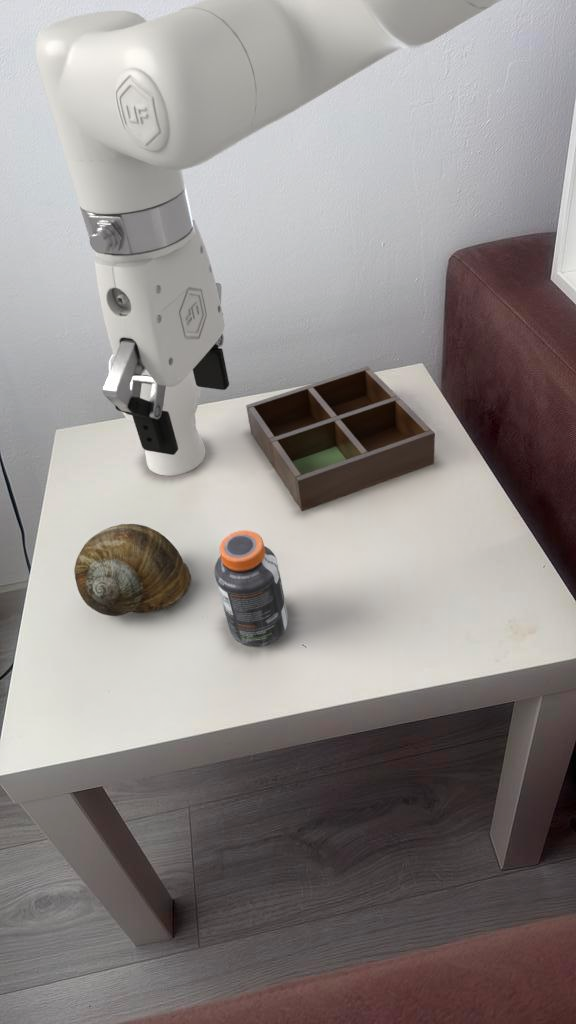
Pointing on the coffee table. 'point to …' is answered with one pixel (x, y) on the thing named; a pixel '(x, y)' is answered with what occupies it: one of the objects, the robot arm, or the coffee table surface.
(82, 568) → the seashell
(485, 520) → the coffee table surface
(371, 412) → the compartment tray
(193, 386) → the cup
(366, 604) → the coffee table surface
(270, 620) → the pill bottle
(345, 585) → the coffee table surface
